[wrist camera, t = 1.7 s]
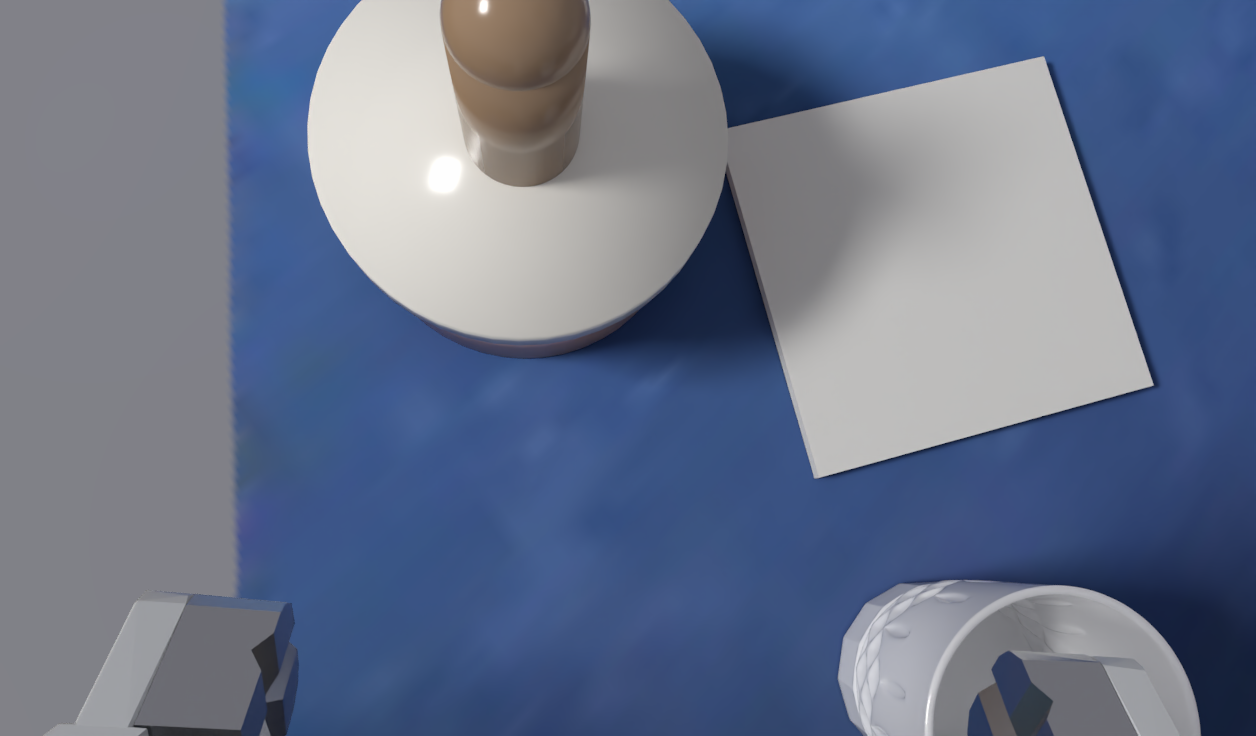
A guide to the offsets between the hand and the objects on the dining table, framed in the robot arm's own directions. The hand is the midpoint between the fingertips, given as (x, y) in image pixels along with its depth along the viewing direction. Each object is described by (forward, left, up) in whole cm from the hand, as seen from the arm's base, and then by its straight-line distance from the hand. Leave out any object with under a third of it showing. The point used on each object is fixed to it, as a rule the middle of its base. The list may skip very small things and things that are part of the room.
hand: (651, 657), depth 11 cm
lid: (-2, -13, -19) cm, 23 cm away
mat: (-17, -7, -25) cm, 31 cm away
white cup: (-12, +8, -25) cm, 29 cm away
